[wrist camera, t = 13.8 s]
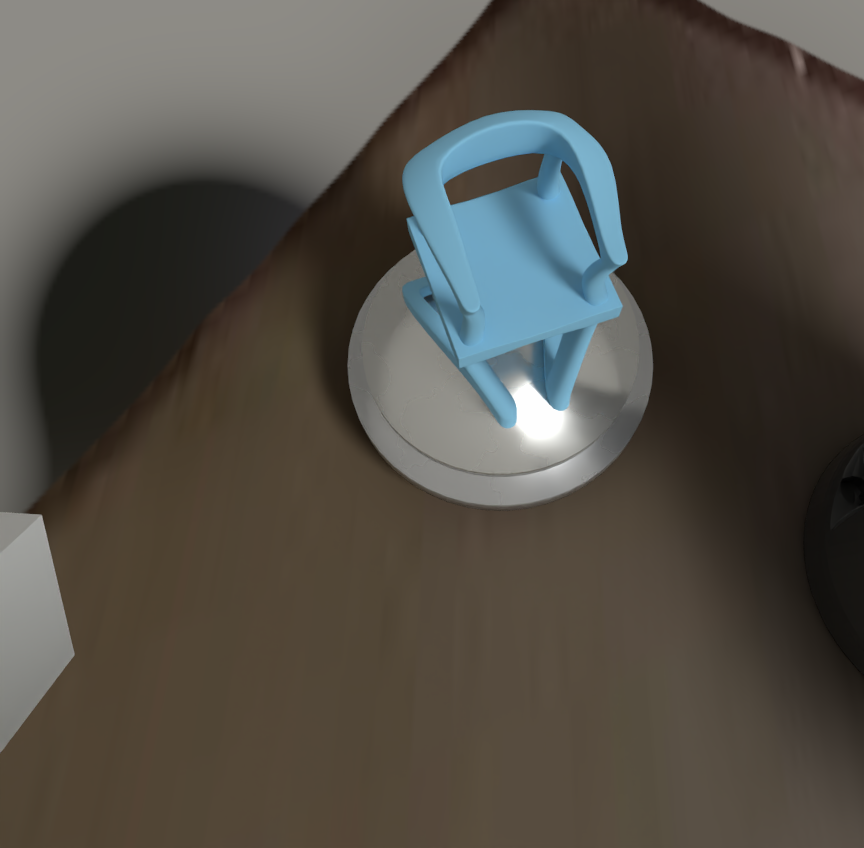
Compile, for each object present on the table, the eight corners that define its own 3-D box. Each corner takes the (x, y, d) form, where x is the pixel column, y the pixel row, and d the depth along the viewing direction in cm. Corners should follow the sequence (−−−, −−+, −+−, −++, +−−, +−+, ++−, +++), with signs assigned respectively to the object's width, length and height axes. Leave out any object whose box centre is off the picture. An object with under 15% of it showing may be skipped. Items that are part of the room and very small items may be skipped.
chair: (456, 447, 34) (444, 328, 23) (401, 292, 37) (366, 118, 25) (616, 393, 34) (684, 251, 23) (550, 245, 37) (582, 52, 26)
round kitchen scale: (579, 228, 43) (591, 171, 38) (686, 468, 38) (715, 436, 33) (327, 303, 42) (308, 255, 38) (401, 558, 37) (390, 539, 33)
